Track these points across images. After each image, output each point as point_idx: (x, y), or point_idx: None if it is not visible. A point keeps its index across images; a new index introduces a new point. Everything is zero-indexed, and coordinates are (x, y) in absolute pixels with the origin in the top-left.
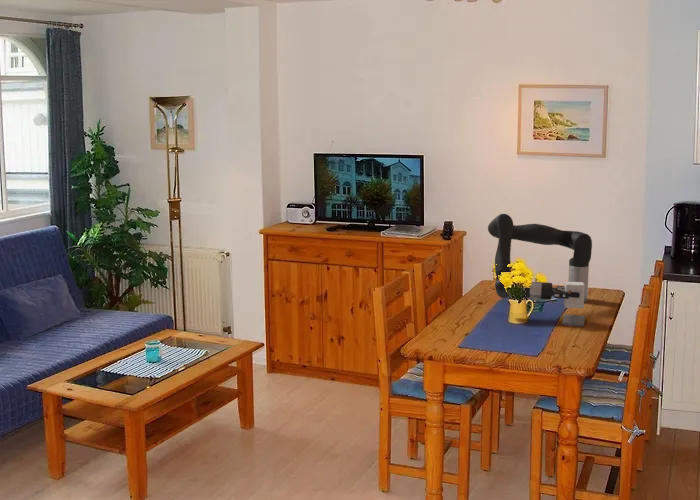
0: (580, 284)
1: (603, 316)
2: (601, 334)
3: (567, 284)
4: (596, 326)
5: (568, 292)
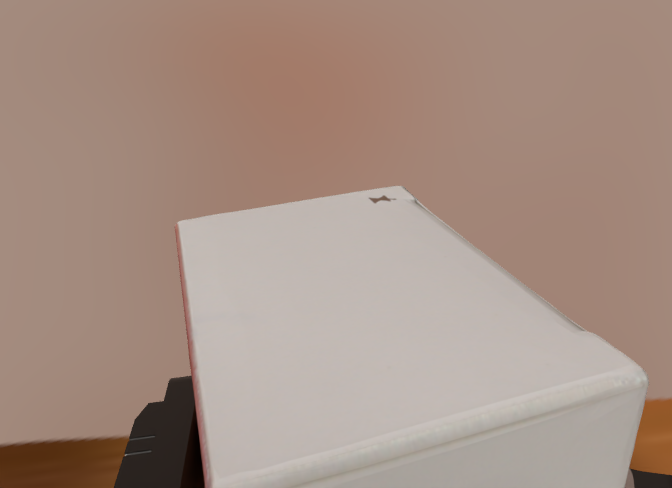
0: (394, 212)
1: (85, 483)
2: (656, 411)
3: (615, 352)
4: None
5: (633, 480)
